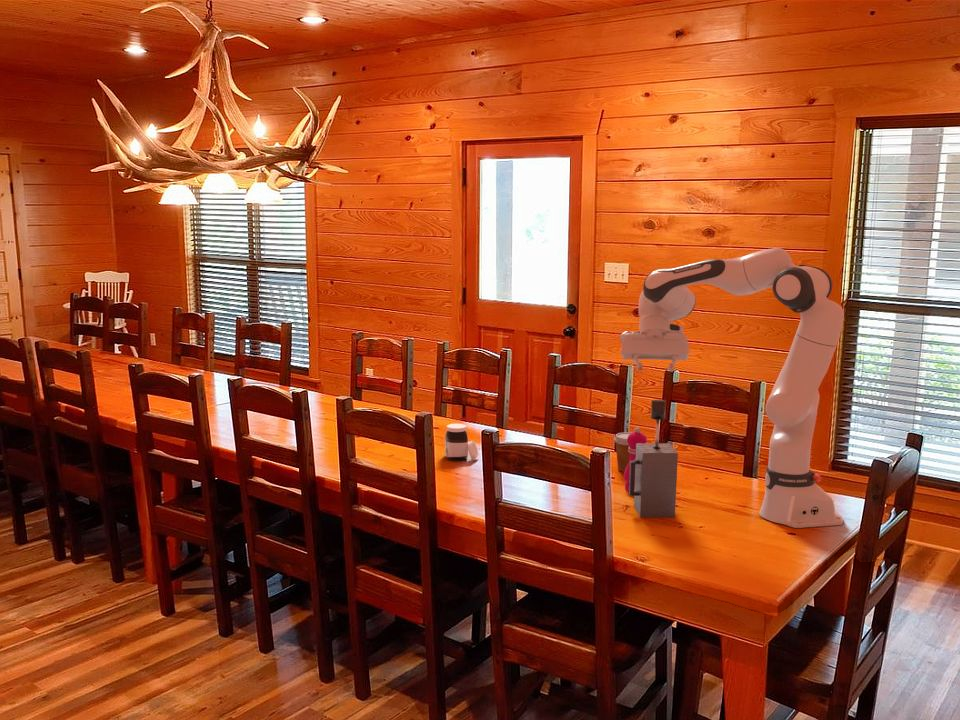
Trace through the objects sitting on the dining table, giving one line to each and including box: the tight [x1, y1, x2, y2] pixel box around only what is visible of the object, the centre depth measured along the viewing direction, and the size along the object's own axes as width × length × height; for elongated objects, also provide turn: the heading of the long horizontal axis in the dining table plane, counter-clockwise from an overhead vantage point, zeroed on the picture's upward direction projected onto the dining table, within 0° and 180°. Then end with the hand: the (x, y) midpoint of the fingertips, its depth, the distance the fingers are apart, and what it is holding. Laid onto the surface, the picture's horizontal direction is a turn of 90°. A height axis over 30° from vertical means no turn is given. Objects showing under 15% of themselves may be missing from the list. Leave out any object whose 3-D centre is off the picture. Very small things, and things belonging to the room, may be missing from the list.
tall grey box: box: [628, 442, 679, 518], centre depth 254 cm, size 12×10×19 cm
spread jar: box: [444, 423, 479, 462], centre depth 306 cm, size 12×11×12 cm
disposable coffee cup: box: [613, 431, 632, 473], centre depth 294 cm, size 10×10×12 cm
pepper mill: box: [623, 427, 648, 492], centre depth 274 cm, size 7×7×20 cm
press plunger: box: [650, 399, 667, 449], centre depth 251 cm, size 8×8×17 cm
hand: (655, 369), depth 261 cm, fingers open, 8 cm apart
